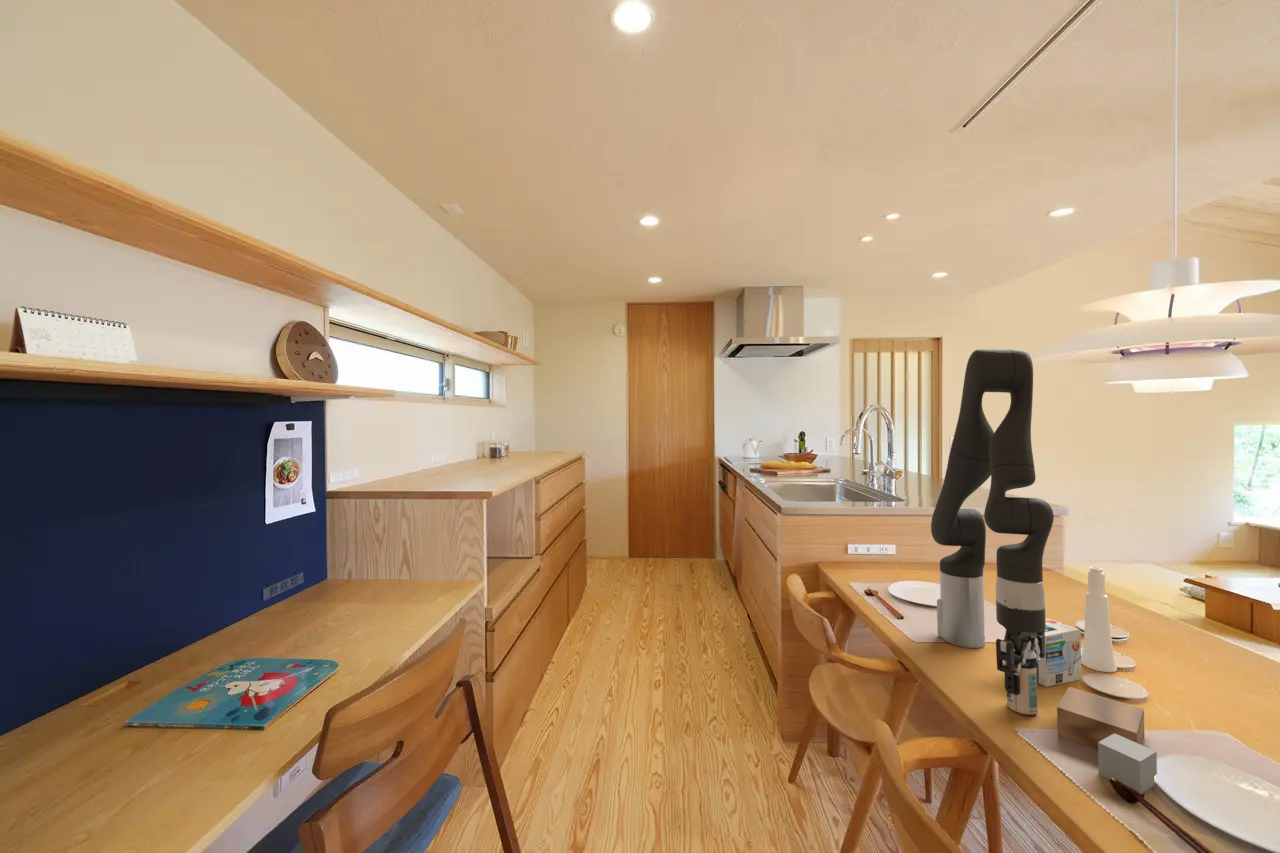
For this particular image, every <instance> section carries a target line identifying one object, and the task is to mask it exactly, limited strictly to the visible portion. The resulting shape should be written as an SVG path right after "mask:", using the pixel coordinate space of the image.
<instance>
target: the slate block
mask: <svg viewBox="0 0 1280 853" xmlns="http://www.w3.org/2000/svg"><path fill="white" fill-rule="evenodd" d="M1097 753H1098V754H1097V758H1098V759H1097V760H1098V763H1097V764H1098V774H1099V775H1101V776H1103V777H1105V778H1107V779H1109V780H1111V779H1112V778H1114V779H1117V780H1119V781H1121V782H1122V783H1123V784H1126V785H1128V786H1130V787H1131V788H1133V789H1135V790H1136V791H1138V792H1139V793H1140V794H1139V793H1138V794H1139V795H1142V794H1145V793H1146V791H1148V790H1150V789H1151V788H1153V787H1155V786H1156V785H1155V783H1154V776H1155V775H1156V774H1157V775H1158V767H1157V766H1158V764H1157V762H1158V761H1157V760H1158V758H1157V757H1158V756H1157V751H1156V750H1153V749H1151V748H1149V747H1147V746H1144V745H1140V744H1138V743H1136V742H1133V741H1131V740H1129V739H1126V738H1124V737H1122V736H1120V735H1117V734H1115V733H1114V734H1112V735H1110V736H1109V737H1107V738H1105V739H1103V740H1101V741H1099V742H1098V750H1097Z"/></svg>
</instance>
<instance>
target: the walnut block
mask: <svg viewBox="0 0 1280 853" xmlns="http://www.w3.org/2000/svg"><path fill="white" fill-rule="evenodd" d="M1056 715H1057V716H1056V717H1057V718H1056V720H1057V721H1056V722H1057V725H1056V726H1057V736H1058V737H1061V738H1064V739H1067V740H1069V741H1072V742H1076V743H1078V744H1081V745H1082V746H1083V745H1084V746H1087V747H1089V748H1092V749H1094V750H1097V751H1098V742H1099V741H1101V740H1103V739H1105V738H1107V737H1109V736H1110V735H1112V734H1114V733H1115V734H1117V735H1120V736H1122V737H1124V738H1126V739H1129V740H1131V741H1133V742H1136V743H1138V744H1140V745H1143V744H1144V742H1145V710H1144V708H1142V707H1139V706H1136V705H1132V704H1128V703H1125V702H1121V701H1117V700H1115V699H1111V698H1107V697H1104V696H1101V695H1098V694H1095V693H1092V692H1088V691H1085V690H1081V689H1078V688H1075V687H1071V686H1068V688H1067V689H1066V691H1065V693H1064V694H1063V696H1062V697H1061V700H1060V701H1059V703H1058V705H1057V706H1056ZM1143 746H1144V745H1143Z"/></svg>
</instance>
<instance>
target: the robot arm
mask: <svg viewBox="0 0 1280 853" xmlns="http://www.w3.org/2000/svg"><path fill="white" fill-rule="evenodd" d="M962 386H963V388H962V392H961V394H962V395H961V399H960V400H961V401H960V407H959V414H958V418H957V422H956V426H955V431H954V434H953V439H952V442H951V446H950V450H949V455H948V459H947V465H946V470H945V471H946V472H945V475H944V479H943V484H942V487H941V490H940V492H939V496H938V499H937V501H936V504H935V507H934V509H933V514H932V518H931V520H930V521H931V522H930V531H931V536H932V539H933V540H934V542H935V543H937V544H938V545H940V546H947V547H960V548H959V549H958V550H957V551H955V552H953V553H952V554H949V555H946V556H944V557H942V558H941V559H940V560H939V582H940V583H939V584H940V586H939V587H940V589H939V590H940V598H938V599H937V600H936V617H937V618H936V620H937V622H936V623H937V626H936V627H937V637H938V636H940V637H939V638H941V637H942V638H943V639H942V638H941V639H942V640H943V641H945V640H946V641H947V643H948V642H949V643H948V644H951V645H953V646H958V647H961V648H966V649H967V648H968V649H977V648H979V649H980V648H983V647H984V646H985V645H986V635H985V632H986V631H985V600H984V598H985V596H984V594H985V593H984V568H985V564H986V543H987V541H986V540H987V539H986V538H987V537H986V536H987V534H986V533H987V532H986V531H987V530H986V528H987V527H988V528H989V529H990V530H991V531H992V532H994V533H997V534H1006V535H1007V534H1008V535H1024V536H1026V538H1025V539H1024V540H1022V541H1021V542H1018V543H1012V544H1004V545H1001V546H999V547H998V548H997V549H996V556H995V558H996V582H995V606H996V607H995V610H996V611H995V612H996V616H995V617H996V621H997V623H998V624H999V625H1000V626H1002V627H1004V629H1005V634H1004V637H1003V639H1000V638H997V639H996V640H995V655H996V656H995V657H996V669H997V671H999V672H1003V673H1004V690H1005V691H1006V693H1007V692H1009V693H1012V694H1014V695H1018V694H1020V675H1019V674H1020V669H1021V665H1024V664H1025V662H1026V658H1027V654H1028V651H1029V650H1030V649H1033V650H1034V652H1035V653H1036V655H1037V657H1036V673H1037V684H1039V683H1038V682H1039V664H1040V662H1041V659H1040V658H1044V657H1045V628H1046V621H1045V619H1046V593H1045V587H1044V583H1043V582H1044V579H1043V578H1044V575H1043V573H1044V572H1043V559H1044V558H1043V557H1044V553H1045V552H1044V551H1045V548H1046V544H1047V541H1048V538H1049V536H1050V533H1051V531H1052V528H1053V524H1054V520H1055V518H1054V517H1055V516H1054V515H1055V514H1054V511H1053V508H1052V507H1051V505H1050V504H1049V503H1048V502H1047V501H1046V500H1044V499H1042V498H1038V497H1017V496H1016V497H1015V496H1012V497H1011V496H1006V493H1007V492H1009V491H1011V490H1017V489H1023V488H1028V487H1029V486H1032V485H1033V484H1034V483H1035V482H1036V470H1035V461H1034V454H1033V448H1032V432H1031V431H1032V414H1033V395H1034V394H1033V393H1034V366H1033V360H1032V357H1031V356H1030V353H1029V352H1028V351H1026V350H1024V349H1017V348H1015V349H1013V348H1001V349H1000V348H986V349H985V348H983V349H982V348H981V349H975V350H974V351H973V352H971V354H970V355H969V358H968V360H967V362H966V368H965V374H964V379H963V385H962ZM985 393H1006V394H1007V393H1008V394H1009V395H1010V406H1009V408H1008V410H1007V413H1006V414H1005V416H1004V418H1003V420H1002V421H1001V422H1000V424H999V425H998V427H997V428H996V430H995V431H994V430H993V427H992V426H991V424H990V423H989V421H988V418H987V417H986V415H985V412H984V409H983V398H984V394H985ZM989 478H990V488H989V493H988V497H987V501H986V504H985V507H984V513H983V515H982V514H981V512H980V511H979V510H977V509H975V508H962V505H963V504H964V502H965V501H966V500H967V498H969V497H970V496H971V495H972V494H973V493H974V492H975V491H977V490H978V489H979V488H980V487H981V486H982V485H983V484H985V483H986V482H987V480H989ZM946 641H945V642H946ZM1038 645H1039V646H1038ZM1014 654H1015V655H1018V656H1020V657H1019V658H1017V657H1014ZM1014 662H1016V664H1015V663H1014ZM1008 665H1009V666H1008Z"/></svg>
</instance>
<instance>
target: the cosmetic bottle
mask: <svg viewBox="0 0 1280 853" xmlns="http://www.w3.org/2000/svg"><path fill="white" fill-rule="evenodd" d="M1103 571H1104V569H1103V568H1102V567H1099V566H1089V570H1088V572H1087V583H1088V584H1087V588H1088V589H1087V590H1088V591H1087V592H1086V593H1085V600H1084V601H1085V606H1084V607H1085V609H1084V627H1083V628H1084V632H1083V634H1084V635H1083V643H1082V644H1083V645H1082V649H1081V665H1083V666H1084V667H1086V668H1087V669H1091V670H1094V671H1098V672H1102V673H1116V672H1117V671H1118V668H1117V664H1116V660H1115V653H1114V648H1113V639H1112V629H1111V618H1110V605H1109V597H1108V596H1109V595H1107V594H1106V579H1105V578H1106V574H1105V573H1104V572H1103Z"/></svg>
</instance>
